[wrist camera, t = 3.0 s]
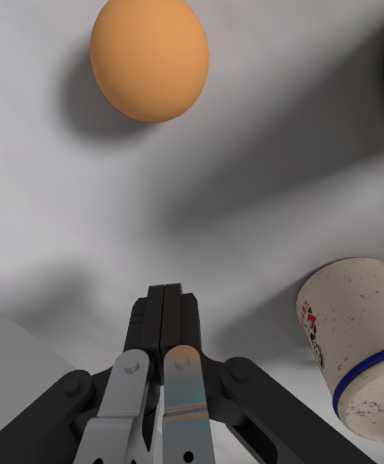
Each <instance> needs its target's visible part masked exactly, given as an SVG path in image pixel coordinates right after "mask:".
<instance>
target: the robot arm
mask: <svg viewBox="0 0 384 464" xmlns="http://www.w3.org/2000/svg"><path fill="white" fill-rule="evenodd" d="M162 385H164V404H165V413H164V415H163V419H162V438H163V464H215V457H214V450H213V443H212V436H211V429H210V422H209V419H211V420H215V421H218V422H222V423H225V425H226V427H227V428H228V429H229V430H230V432H231V433H232V434H233V435H234V436H235V437H236V438H237V439H238V440H239V442H240V443H241V444H242V445H243V446H244V447H245V448H246V449H247V450H248V451H249V453H250V454H251V455H252V456H253V457H254V458H255V459H256V460H257V461H258V463H259V464H377V463H376V462H374V461H373V460H372V459H371V458H369V457H368V456H367V455H366V454H365V453H363V452H362V451H361V450H360V449H358V448H357V447H356V446H355V445H354V444H352V443H351V442H350V441H349V440H347V439H346V438H345V437H344V436H343V435H341V434H340V433H339V432H338V431H336V430H335V429H334V428H333V427H332V426H330V425H329V424H328V423H327V422H325V421H324V420H323V419H322V418H321V417H319V416H318V415H317V414H316V413H314V412H313V411H312V410H311V409H310V408H308V407H307V406H306V405H305V404H303V403H302V402H301V401H300V400H299V399H297V398H296V397H295V396H294V395H292V394H291V393H290V392H289V391H288V390H286V389H285V388H284V387H283V386H281V385H280V384H279V383H278V382H277V381H275V380H274V379H273V378H272V377H270V376H269V375H268V374H267V373H266V372H264V371H263V370H262V369H261V368H259V367H258V366H257V365H256V364H255V363H253V362H252V361H251V360H249V359H247V358H244V357H233V358H230V359H228V360H227V361H225V362H224V363H223V362H218V361H214V360H212V359H210V358H208V357H207V356H205V355H204V353H203V352H202V347H201V332H200V319H199V311H198V302H197V299H196V298H195V296H194V295H193V293H187V294H183V293H182V286H181V283H176V284H166V285H155V286H149V289H148V295H147V297H144V298H138V300H137V301H136V303H135V304H134V305H133V308H132V312H131V317H130V322H129V327H128V331H127V336H126V341H125V346H124V351H123V353H122V354H121V355H120V356H119V357H118V358H117V359H116V361H115V363H114V365H113V366H112V367H111V368H109V369H107V370H105V371H103V372H100V373H97V374H95V375H92V376H91V375H90V374H89V373H88V372H87V371H85V370H74V371H71V372H69V373H67V374H66V375H64V376H63V377H61V378H60V379H59V380H58V381H57V382H56V383H55V384H53V385H52V386H51V387H50V388H49V389H48V390H47V391H45V392H44V393H43V394H42V395H41V396H40V397H39V398H38V399H36V400H35V401H34V402H33V403H32V404H31V405H29V406H28V407H27V408H26V409H25V410H24V411H23V412H21V413H20V414H19V415H18V416H17V417H16V418H14V419H13V420H12V421H11V422H10V423H9V424H8V425H6V426H5V427H4V428H3V429H2V430H1V431H0V464H153V452H154V445H155V438H156V431H157V424H158V417H159V409H160V400H159V398H160V386H162Z"/></svg>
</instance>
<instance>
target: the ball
mask: <svg viewBox="0 0 384 464" xmlns="http://www.w3.org/2000/svg"><path fill="white" fill-rule="evenodd" d="M90 60H91V65H92V70H93V73H94V76H95V79H96V81H97V84H98V86H99V87H100V89H101V91H102V93H103V94H104V95H105V97H106V98H107V99H108V100H109V102H110V103H111V104H112V105H113V106H114V107H115V108H117V109H118V110H119V111H121V112H122V113H123V114H125V115H127V116H129V117H131V118H133V119H136V120H139V121H143V122H150V123H157V122H164V121H168V120H171V119H174V118H176V117H178V116H180V115H181V114H183V113H184V112H185V111H187V110H188V109H189V108H190V107H191V106H192V105H193V103H194V102H195V101H196V100H197V98H198V97H199V95H200V93H201V91H202V89H203V87H204V84H205V81H206V78H207V73H208V66H209V52H208V45H207V40H206V36H205V33H204V31H203V28H202V26H201V24H200V22H199V20H198V18H197V17H196V15H195V14H194V12H193V11H192V10H191V8H190V7H189V6H188V5H187V4H186V3H185V2H184V1H183V0H109V1H108V2H107V3H106V5H105V6H104V7H103V8H102V10H101V11H100V13H99V15H98V16H97V19H96V21H95V23H94V26H93V30H92V33H91V39H90Z"/></svg>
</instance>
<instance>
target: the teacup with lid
mask: <svg viewBox="0 0 384 464" xmlns="http://www.w3.org/2000/svg"><path fill="white" fill-rule="evenodd" d="M296 312H297V316H298V319H299V321H300V323H301V326H302V328H303V330H304V333H305V335H306V337H307V339H308V342H309V344H310V346H311V349H312V351H313V353H314V356H315V358H316V360H317V363H318V365H319V367H320V369H321V372H322V374H323V376H324V379H325V381H326V383H327V386H328V388H329V390H330V393H331V395H332V397H333V401H332V404H333V409H334V411H335V413H336V415H337V417H338V418H339V419H340V420H341V421H342V423H343V424H344V425H345V426H346V427H347V428H348V429H349V430H350V431H352V432H353V433H354V434H356V435H358V436H360V437H363V438H365V439H368V440H372V441H377V442H384V262H383V261H380V260H377V259H373V258H366V257H356V258H348V259H344V260H340V261H337V262H334V263H332V264H329V265H327V266H325V267H323V268H322V269H320V270H319V271H317V272H316V273H315V274H313V275H312V276H311V277H310V278H309V279H308V280H307V281H306V282H305V284H304V285H303V286H302V288H301V290H300V292H299V294H298V297H297V300H296Z"/></svg>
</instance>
